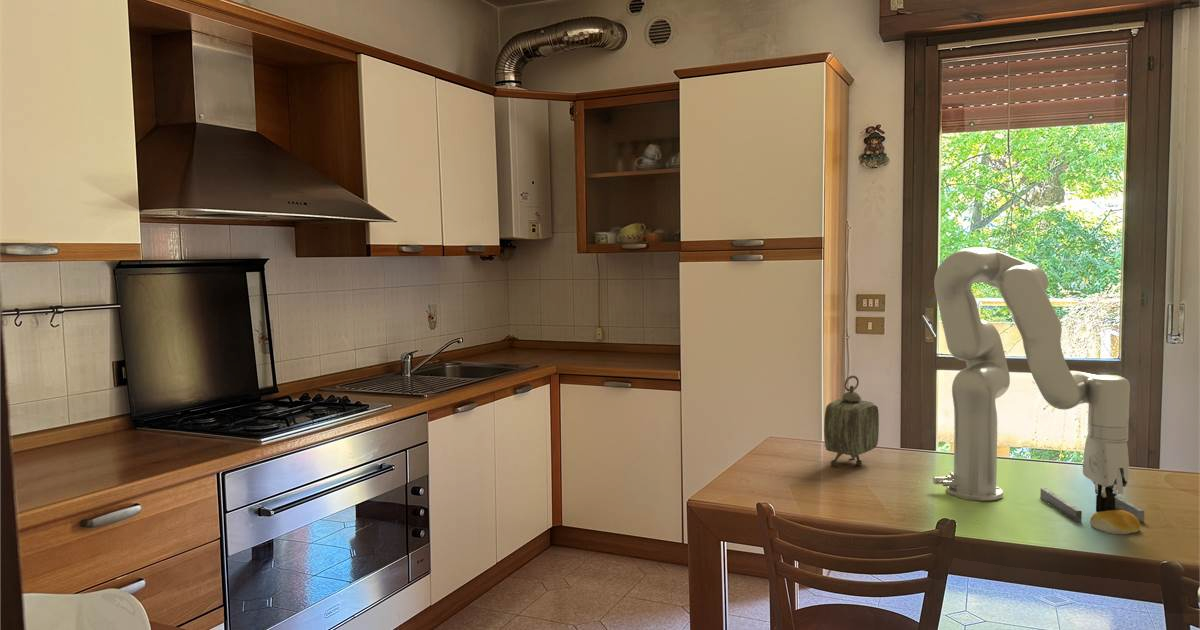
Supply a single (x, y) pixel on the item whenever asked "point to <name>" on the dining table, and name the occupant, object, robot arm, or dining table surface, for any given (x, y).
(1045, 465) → the dining table surface
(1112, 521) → the bread roll
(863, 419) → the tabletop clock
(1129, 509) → the chute
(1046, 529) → the dining table surface
